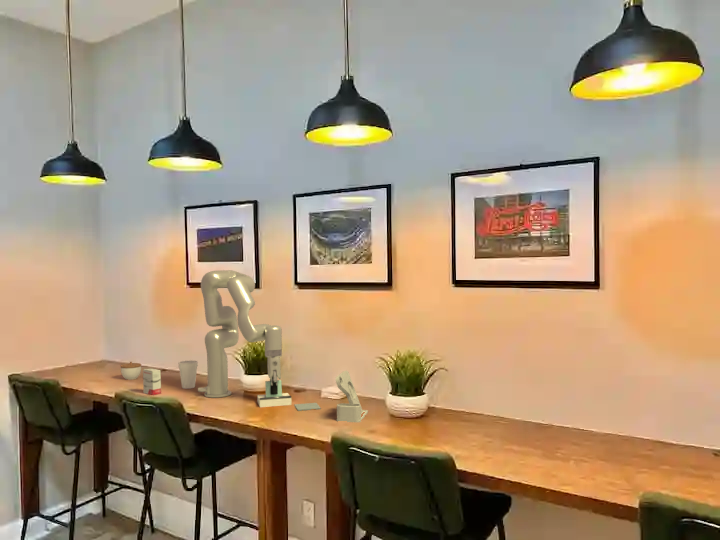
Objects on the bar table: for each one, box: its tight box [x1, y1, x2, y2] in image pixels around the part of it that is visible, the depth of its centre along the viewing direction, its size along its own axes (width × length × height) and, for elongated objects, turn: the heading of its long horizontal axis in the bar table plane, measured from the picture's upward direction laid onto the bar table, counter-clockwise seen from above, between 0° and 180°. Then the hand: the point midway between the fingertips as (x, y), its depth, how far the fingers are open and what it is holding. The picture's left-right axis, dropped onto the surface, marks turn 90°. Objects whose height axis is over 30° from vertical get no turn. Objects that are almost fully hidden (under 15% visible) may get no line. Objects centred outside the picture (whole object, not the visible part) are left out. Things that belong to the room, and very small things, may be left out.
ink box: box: [142, 367, 162, 396], centre depth 295 cm, size 9×5×12 cm, turn 51°
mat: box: [293, 402, 322, 412], centre depth 264 cm, size 10×10×1 cm
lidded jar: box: [120, 361, 142, 380], centre depth 333 cm, size 11×11×9 cm
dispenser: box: [257, 392, 292, 408], centre depth 272 cm, size 14×11×4 cm
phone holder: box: [335, 369, 369, 423], centre depth 247 cm, size 17×10×18 cm, turn 168°
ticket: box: [264, 379, 283, 397], centre depth 272 cm, size 7×2×9 cm, turn 105°
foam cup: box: [178, 359, 199, 389], centre depth 308 cm, size 10×9×13 cm
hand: (273, 393), depth 272 cm, fingers closed on ticket, 2 cm apart
